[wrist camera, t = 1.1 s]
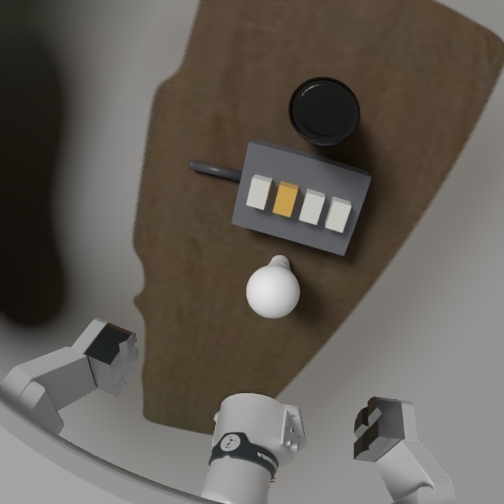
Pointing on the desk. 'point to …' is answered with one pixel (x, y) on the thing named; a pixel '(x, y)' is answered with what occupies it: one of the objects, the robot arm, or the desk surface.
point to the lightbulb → (273, 289)
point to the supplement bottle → (324, 111)
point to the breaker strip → (296, 195)
